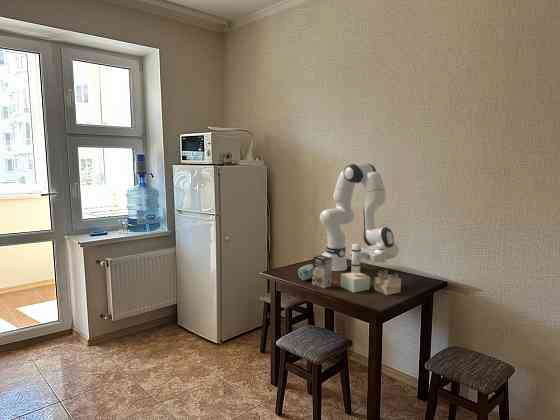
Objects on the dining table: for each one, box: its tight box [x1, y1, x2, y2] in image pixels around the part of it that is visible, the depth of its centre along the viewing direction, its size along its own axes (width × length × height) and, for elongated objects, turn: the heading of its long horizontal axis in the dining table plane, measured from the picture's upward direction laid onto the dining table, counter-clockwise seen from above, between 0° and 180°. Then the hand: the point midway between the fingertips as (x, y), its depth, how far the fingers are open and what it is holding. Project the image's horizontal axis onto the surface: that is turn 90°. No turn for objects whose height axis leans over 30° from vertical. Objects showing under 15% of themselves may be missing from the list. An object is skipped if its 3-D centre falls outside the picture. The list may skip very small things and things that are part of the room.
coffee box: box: [311, 254, 333, 289], centre depth 214 cm, size 9×6×16 cm
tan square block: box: [373, 269, 402, 296], centre depth 206 cm, size 9×10×10 cm
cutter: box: [331, 279, 342, 288], centre depth 214 cm, size 14×6×1 cm, turn 50°
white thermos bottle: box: [350, 243, 362, 273], centre depth 209 cm, size 5×5×15 cm
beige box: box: [340, 272, 371, 293], centre depth 211 cm, size 11×11×7 cm
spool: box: [297, 263, 313, 282], centre depth 226 cm, size 14×10×10 cm
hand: (354, 256), depth 208 cm, fingers closed on white thermos bottle, 5 cm apart
